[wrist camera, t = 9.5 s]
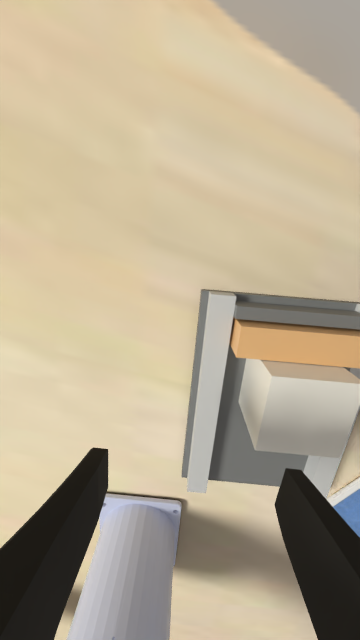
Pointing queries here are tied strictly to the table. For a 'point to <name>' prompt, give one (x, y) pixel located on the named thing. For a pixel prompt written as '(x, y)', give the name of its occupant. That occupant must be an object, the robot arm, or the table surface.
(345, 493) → the tablet computer
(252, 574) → the table surface
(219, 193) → the table surface
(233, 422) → the rail mount
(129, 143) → the table surface
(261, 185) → the table surface
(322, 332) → the block
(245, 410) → the block
